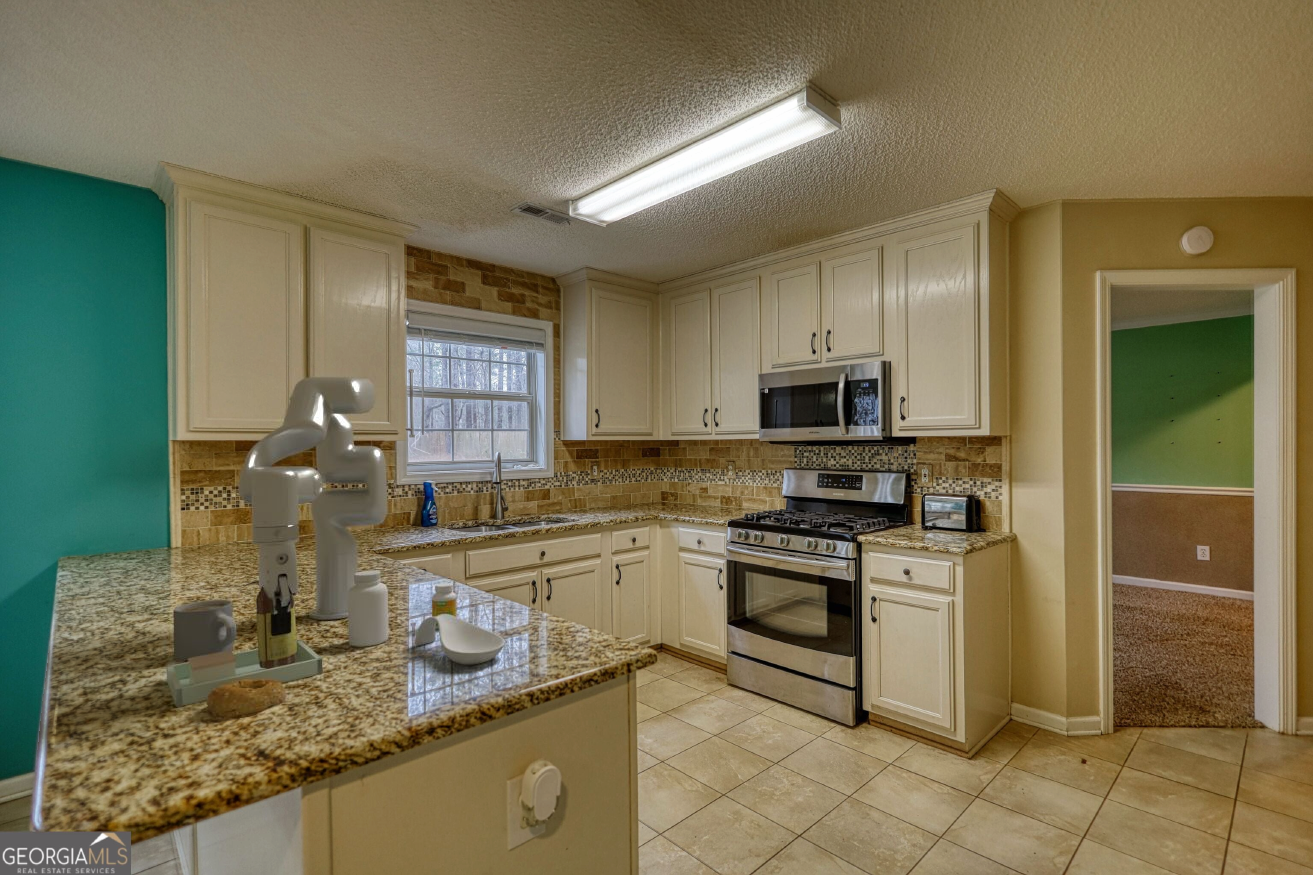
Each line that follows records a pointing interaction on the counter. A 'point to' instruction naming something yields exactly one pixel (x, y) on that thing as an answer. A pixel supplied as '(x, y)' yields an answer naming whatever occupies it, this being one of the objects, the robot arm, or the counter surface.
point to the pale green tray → (242, 674)
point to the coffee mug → (203, 628)
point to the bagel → (245, 697)
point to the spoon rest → (460, 639)
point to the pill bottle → (367, 610)
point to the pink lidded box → (211, 667)
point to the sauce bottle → (274, 647)
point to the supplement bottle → (443, 600)
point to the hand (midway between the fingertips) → (276, 629)
